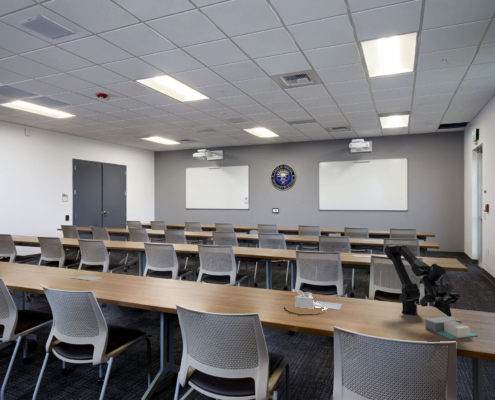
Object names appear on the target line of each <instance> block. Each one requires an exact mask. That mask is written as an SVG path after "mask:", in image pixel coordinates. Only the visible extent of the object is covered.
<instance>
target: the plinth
mask: <svg viewBox="0 0 495 400" xmlns="http://www.w3.org/2000/svg"><path fill="white" fill-rule="evenodd" d="M424 320H425V328H426V329H428V330H430V331H432V332H434V333H436V332H438V331H444V322H451V321H456V322H459V323H461V324H463V323H462V319H458V318H456V317H453V316H451V317H449V316H442V317H441V316H440V317H431V318H430V317H429V318H425V319H424Z"/></svg>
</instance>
